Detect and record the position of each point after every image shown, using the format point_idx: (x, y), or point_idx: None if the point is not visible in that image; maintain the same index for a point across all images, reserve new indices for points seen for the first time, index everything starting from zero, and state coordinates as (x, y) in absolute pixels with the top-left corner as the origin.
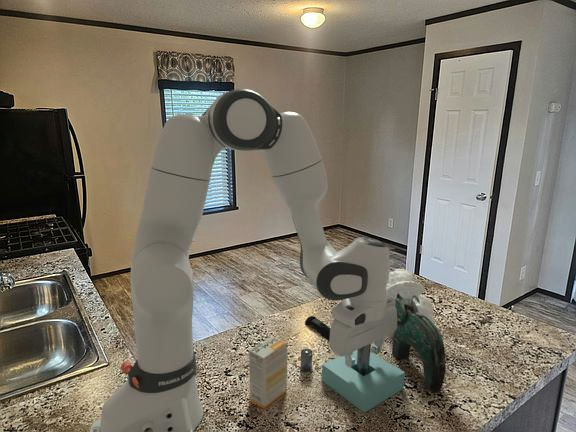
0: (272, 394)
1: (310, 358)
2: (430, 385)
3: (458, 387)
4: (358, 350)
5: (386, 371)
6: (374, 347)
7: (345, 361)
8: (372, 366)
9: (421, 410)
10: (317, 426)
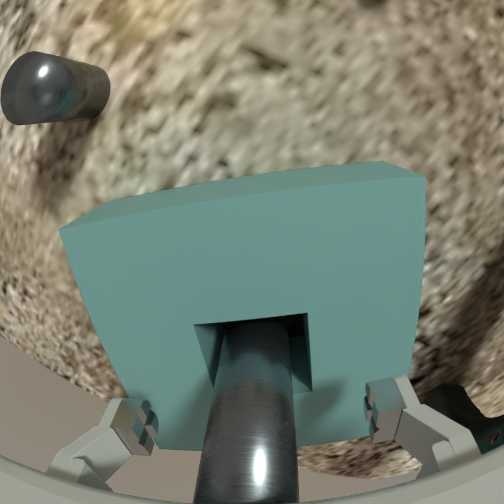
0: None
1: (47, 120)
2: None
3: (480, 406)
4: (201, 459)
5: (340, 412)
6: (374, 422)
7: (106, 411)
8: (315, 370)
9: (333, 442)
10: (41, 362)
